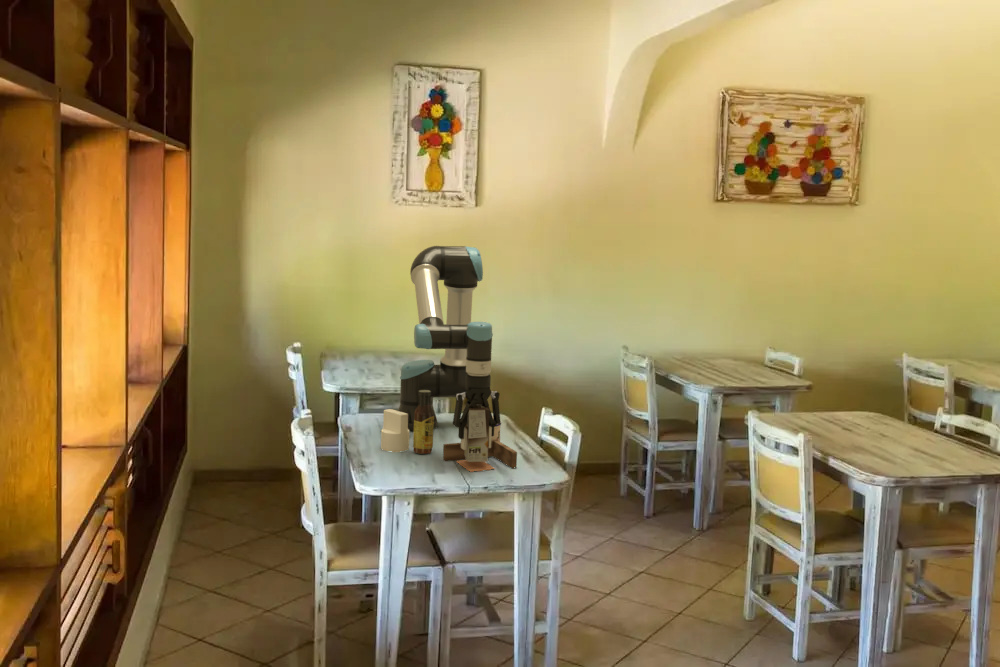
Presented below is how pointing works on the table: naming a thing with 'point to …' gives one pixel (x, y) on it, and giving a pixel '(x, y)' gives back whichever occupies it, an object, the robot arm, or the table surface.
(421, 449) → the sauce bottle
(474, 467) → the terracotta mat
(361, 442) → the table surface
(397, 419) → the base with upright slab
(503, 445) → the walnut corner walls
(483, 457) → the coffee box
